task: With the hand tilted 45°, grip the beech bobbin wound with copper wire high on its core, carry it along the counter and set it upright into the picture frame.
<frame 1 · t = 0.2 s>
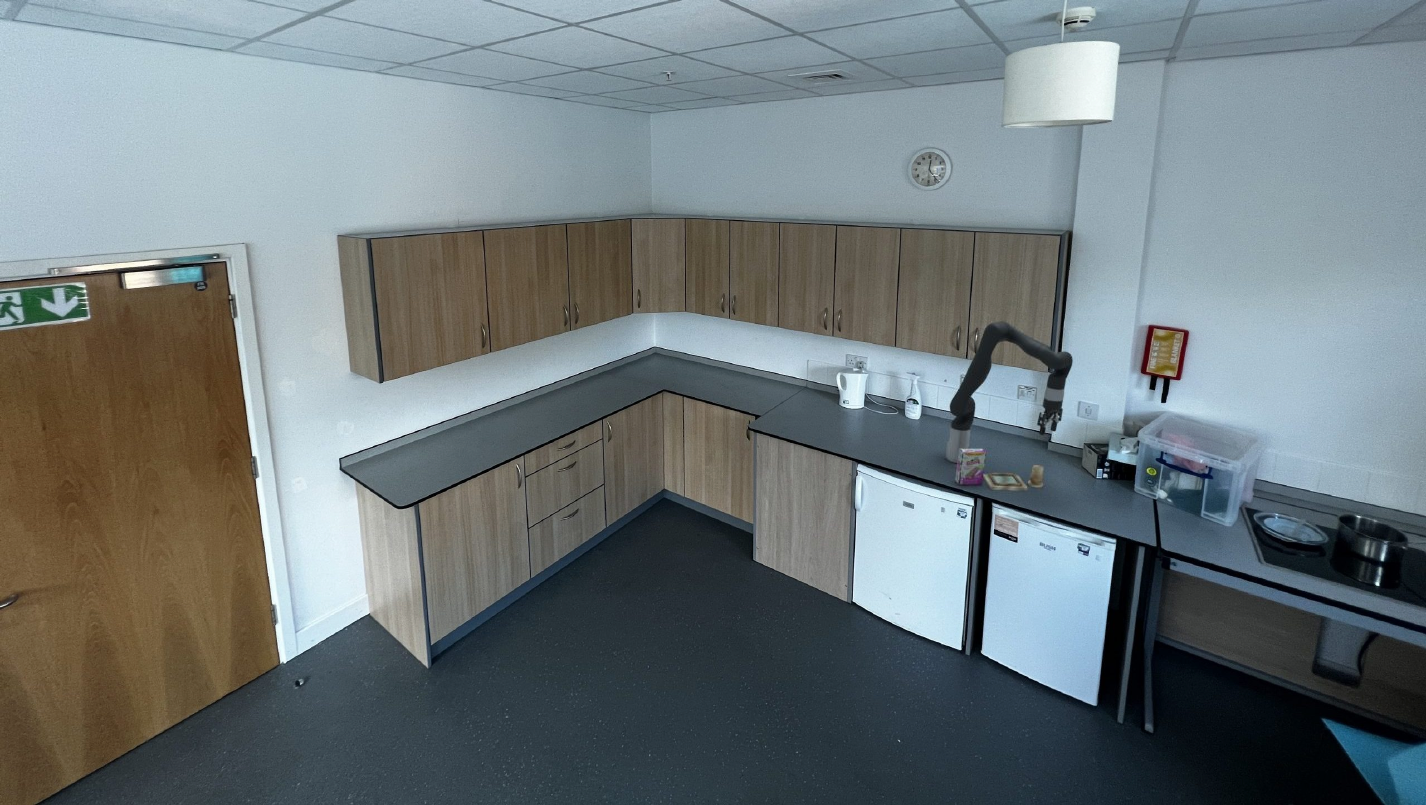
hand: (1047, 432, 310), 29 cm above the worktop, tool pointing down, fingers open, 8 cm apart
picture frame: (1004, 483, 328), on the worktop
candy bar box: (968, 483, 329), on the worktop
beech bobbin: (1035, 484, 327), on the worktop
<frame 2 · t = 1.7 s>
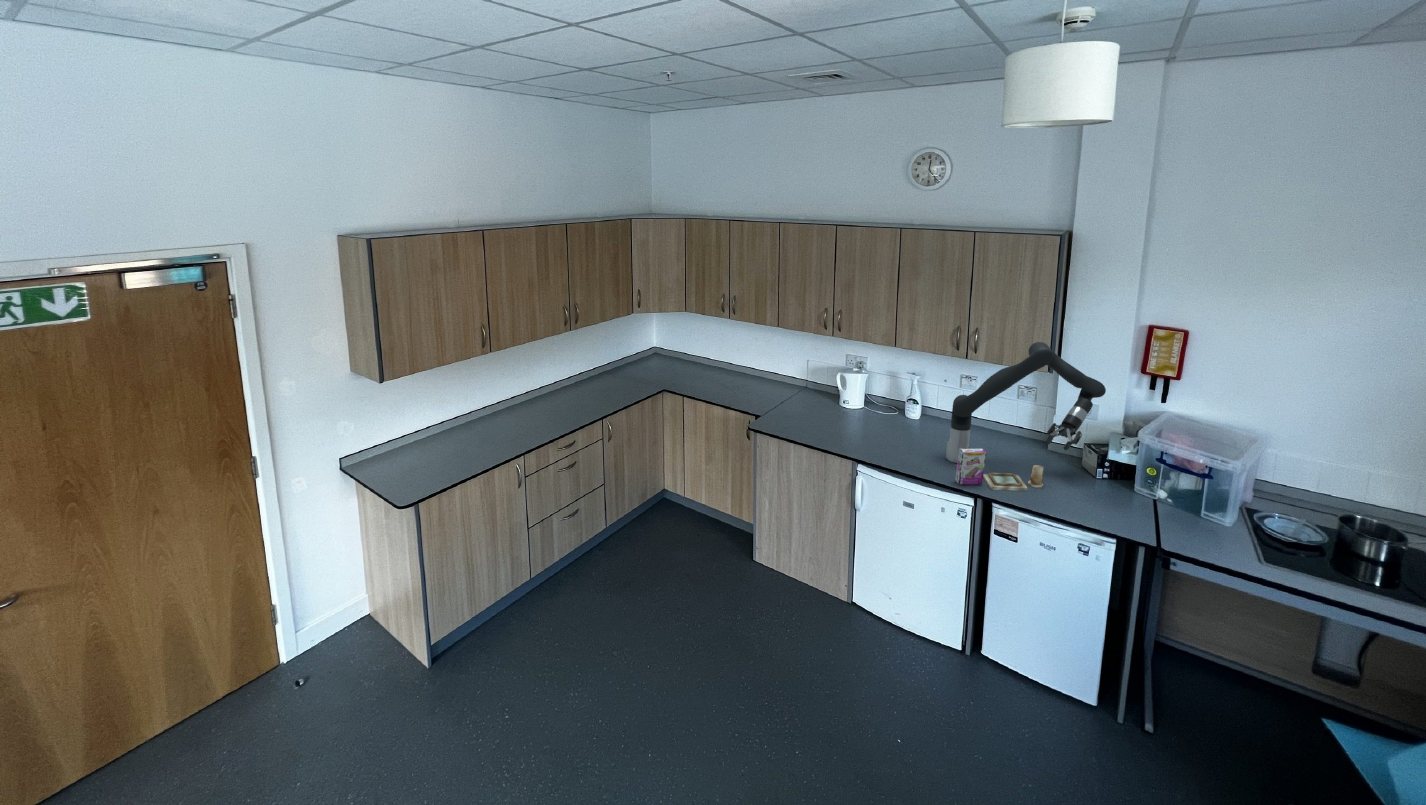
hand: (1056, 446, 327), 17 cm above the worktop, tool tilted 45°, fingers open, 8 cm apart
nothing on the worktop moved.
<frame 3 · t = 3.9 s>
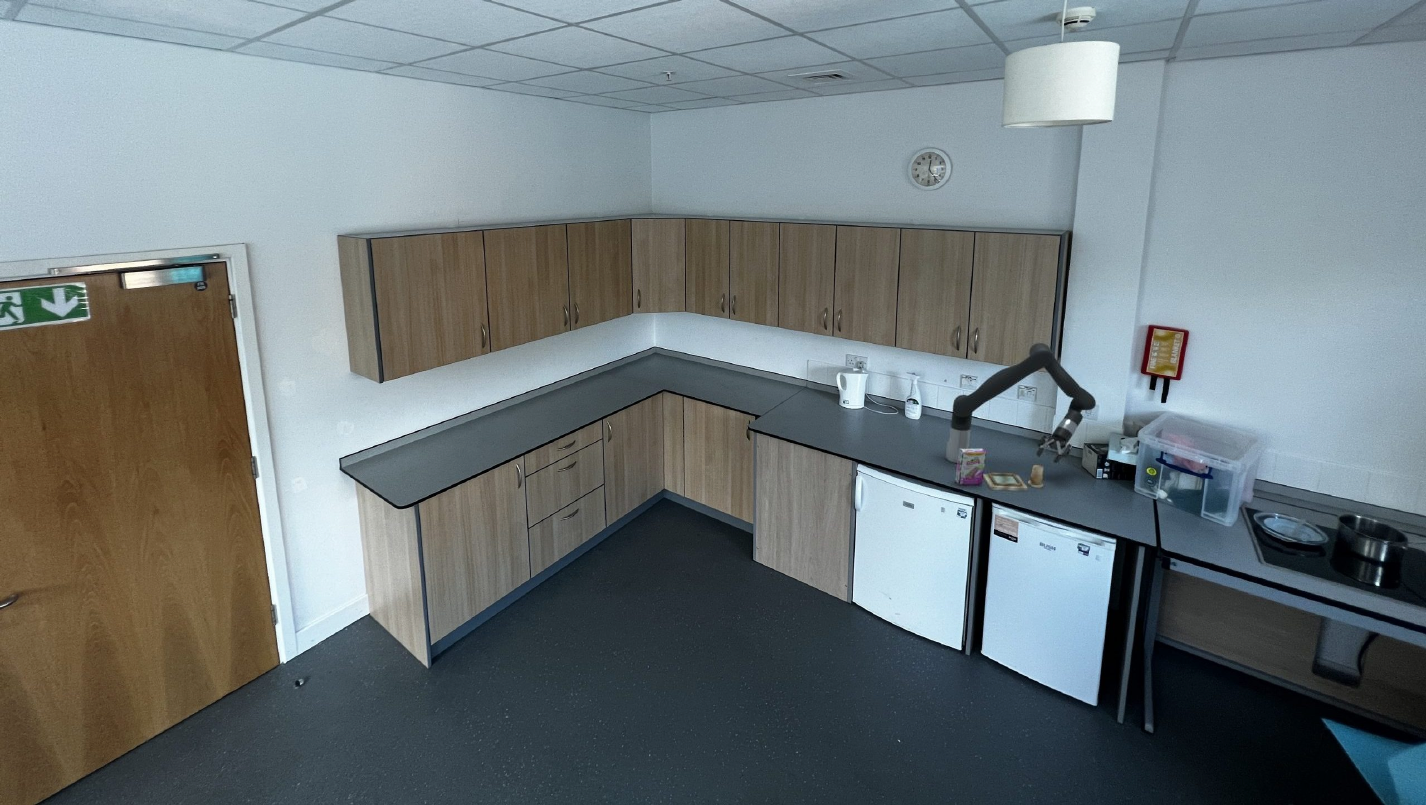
hand: (1046, 459, 326), 12 cm above the worktop, tool tilted 45°, fingers open, 8 cm apart
nothing on the worktop moved.
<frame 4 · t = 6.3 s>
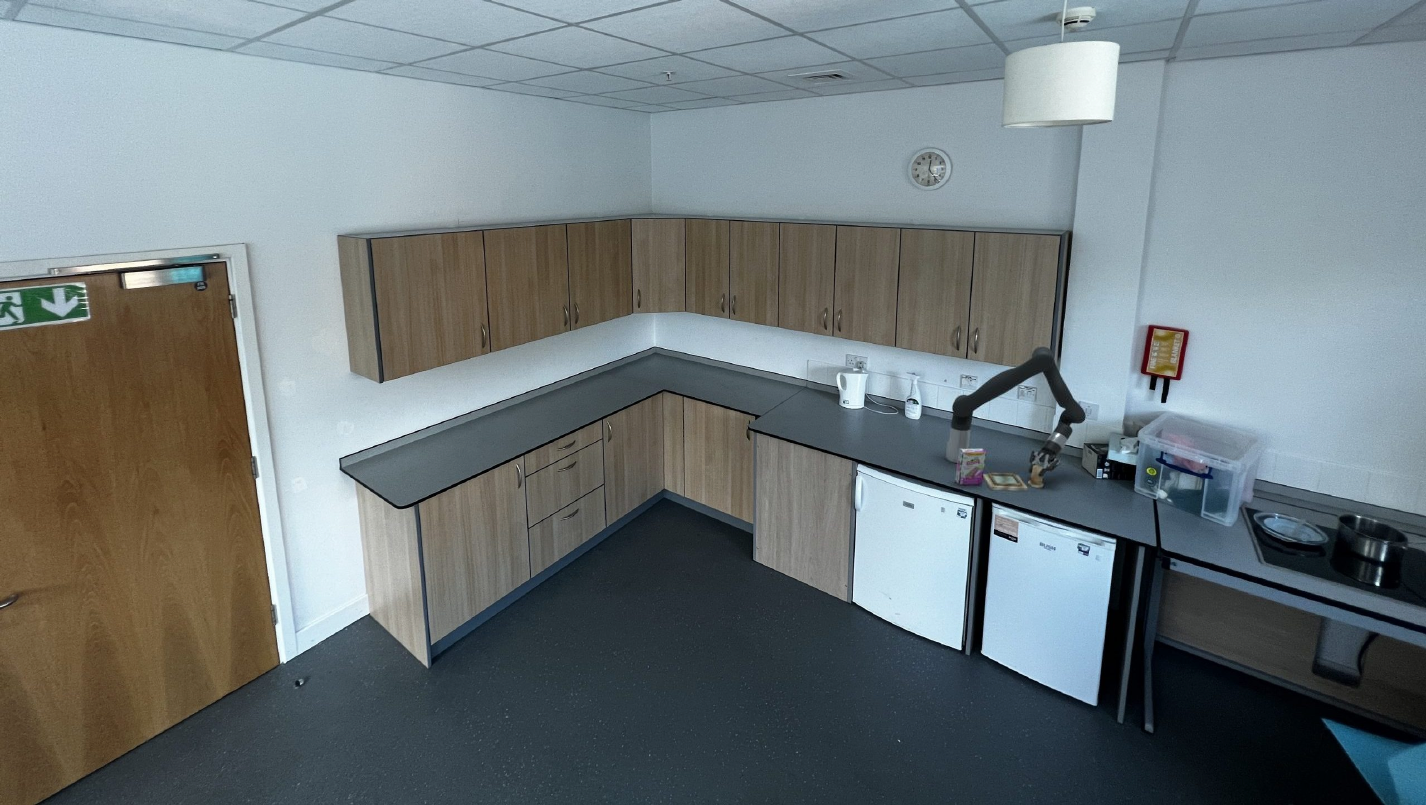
hand: (1034, 474, 324), 6 cm above the worktop, tool tilted 45°, fingers closed on beech bobbin, 4 cm apart
beech bobbin: (1035, 484, 327), on the worktop, touching gripper
everything else where it was.
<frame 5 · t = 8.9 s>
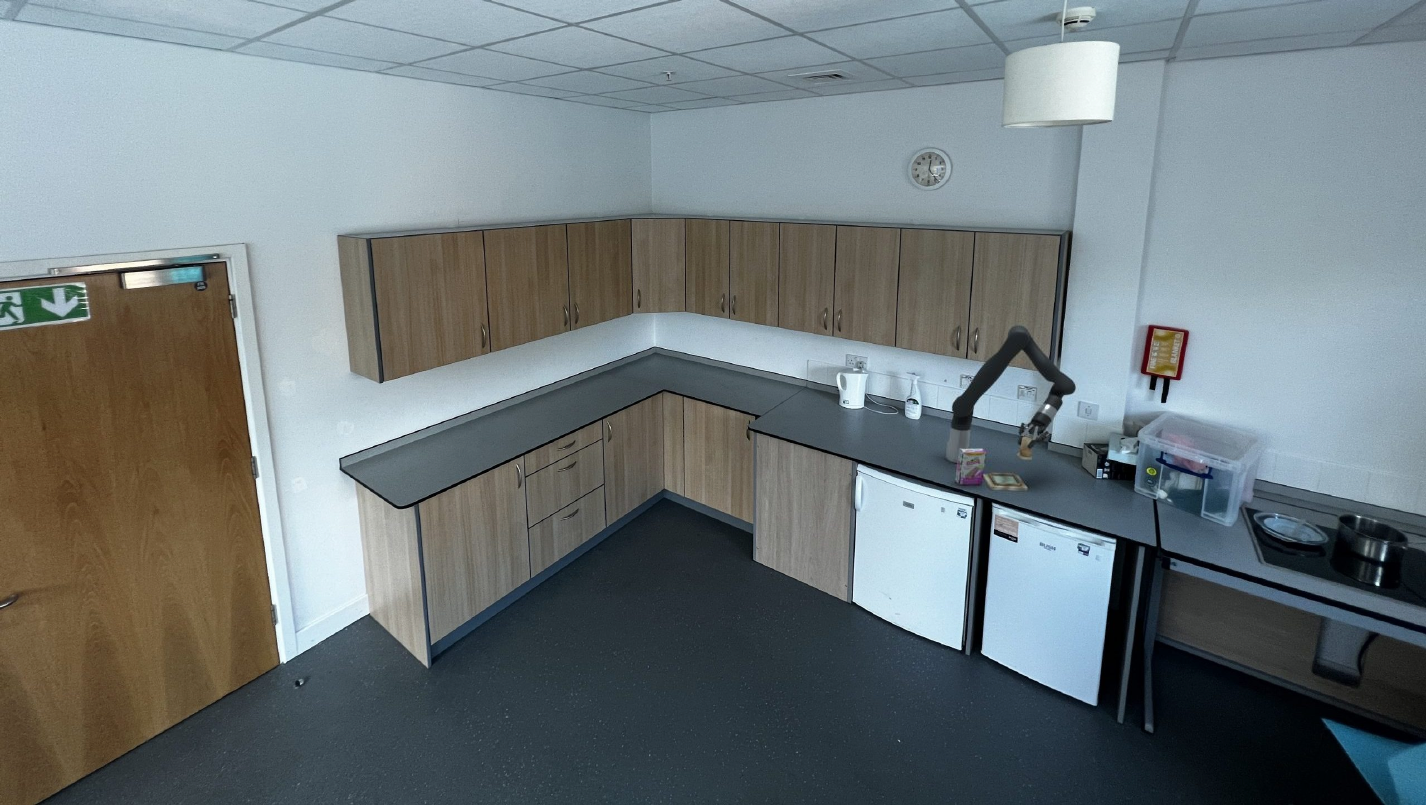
hand: (1023, 445, 321), 20 cm above the worktop, tool tilted 45°, fingers closed on beech bobbin, 4 cm apart
beech bobbin: (1024, 456, 324), point 14 cm above the worktop, touching gripper
everything else where it was.
when the fingers open (9 cm above the worktop, at t = 12.0 s): beech bobbin drops 1 cm, resting on picture frame.
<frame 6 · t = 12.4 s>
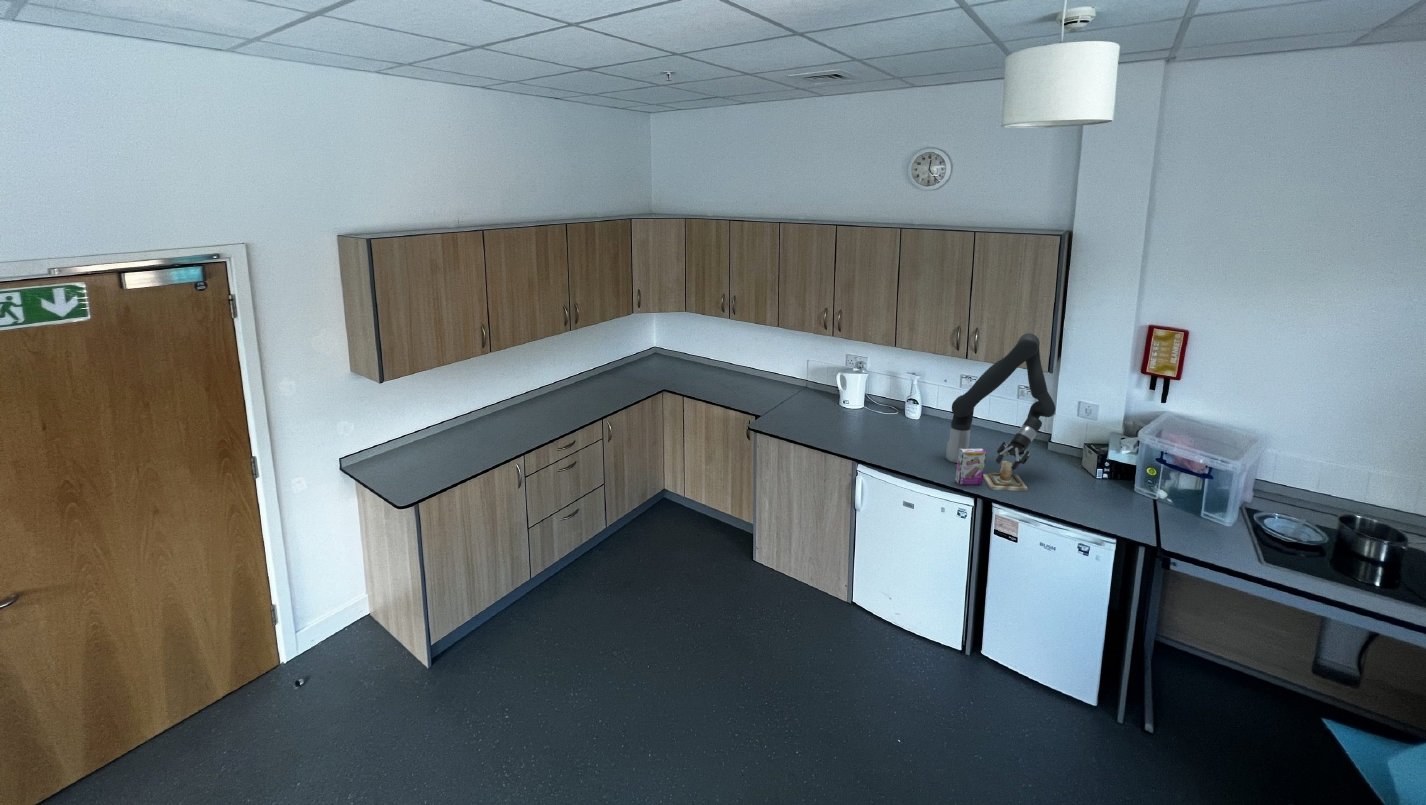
hand: (1004, 465, 325), 9 cm above the worktop, tool tilted 45°, fingers open, 7 cm apart
beech bobbin: (1004, 480, 328), point 2 cm above the worktop, touching picture frame
everything else where it was.
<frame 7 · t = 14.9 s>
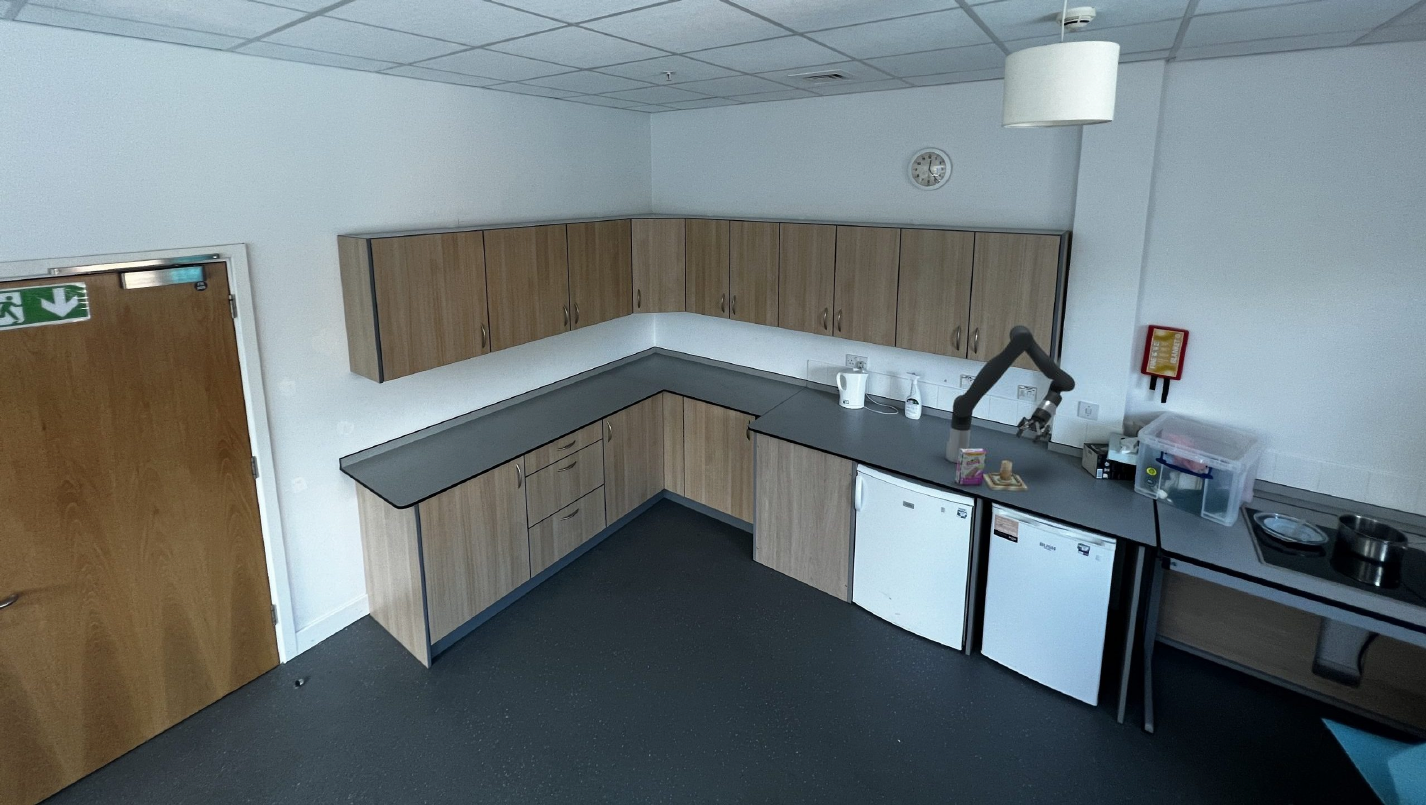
hand: (1025, 439, 328), 19 cm above the worktop, tool tilted 45°, fingers open, 8 cm apart
nothing on the worktop moved.
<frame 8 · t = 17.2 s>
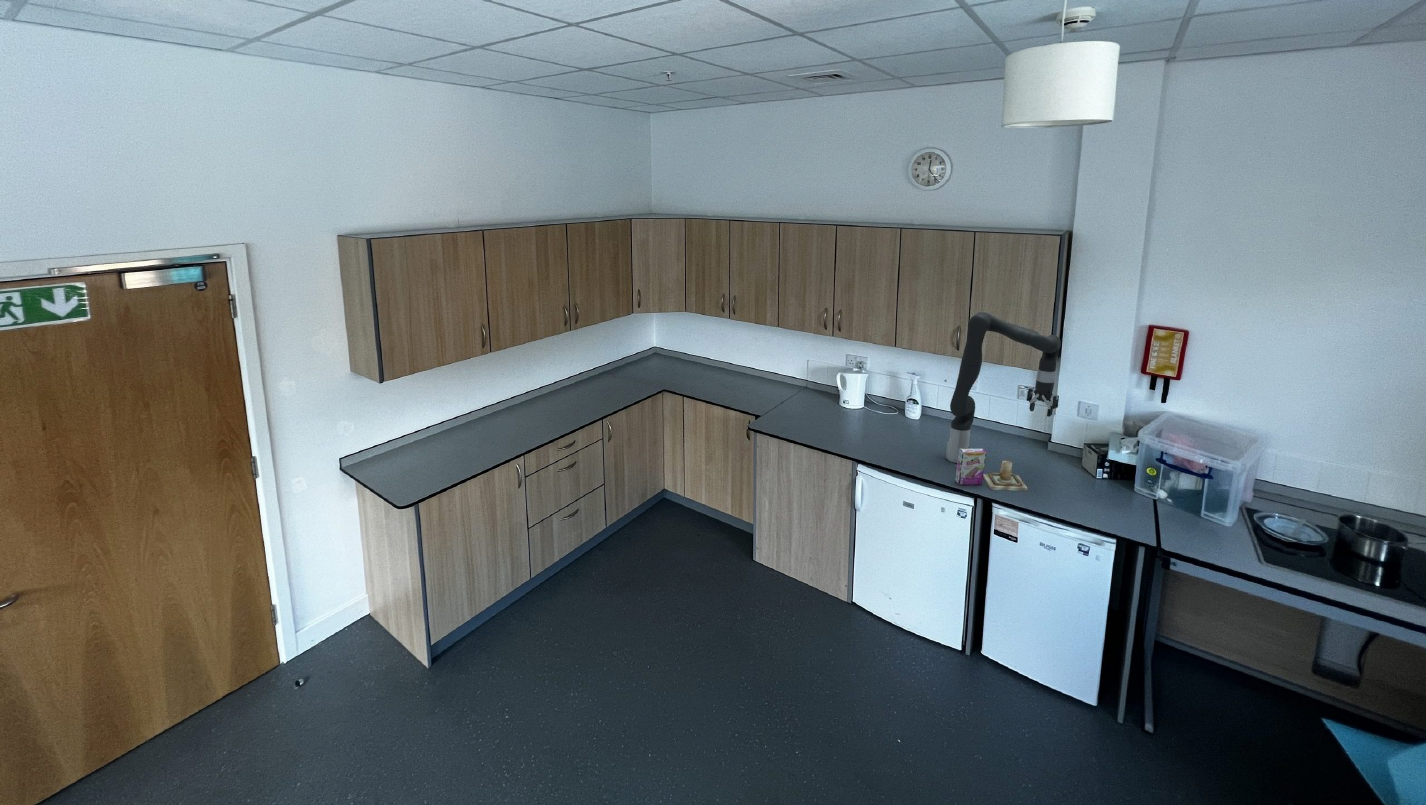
hand: (1040, 413, 324), 32 cm above the worktop, tool pointing down, fingers open, 8 cm apart
nothing on the worktop moved.
at the end: beech bobbin 0.1 cm off-centre on the picture frame, point 1.6 cm above the picture frame's base; beech bobbin tilted 0°; the gripper is holding nothing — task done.
